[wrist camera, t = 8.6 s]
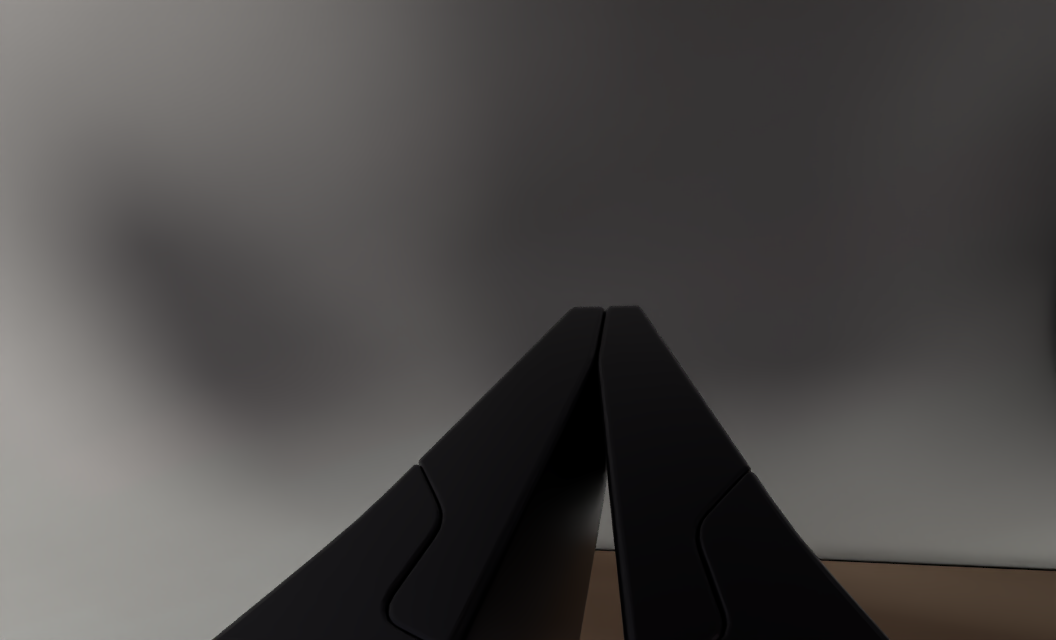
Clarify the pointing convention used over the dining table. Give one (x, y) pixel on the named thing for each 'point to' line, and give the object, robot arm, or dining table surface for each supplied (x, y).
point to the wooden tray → (895, 600)
